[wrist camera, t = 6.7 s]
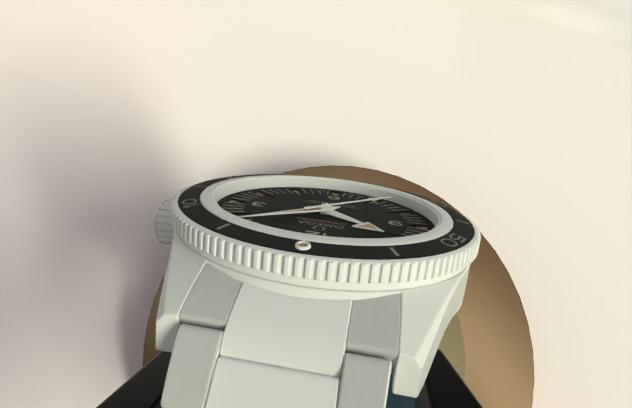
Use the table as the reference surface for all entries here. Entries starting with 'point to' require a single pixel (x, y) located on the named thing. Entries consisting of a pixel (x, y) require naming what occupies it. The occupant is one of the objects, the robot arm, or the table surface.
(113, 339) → the table surface
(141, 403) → the robot arm
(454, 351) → the round dish
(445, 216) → the watch
